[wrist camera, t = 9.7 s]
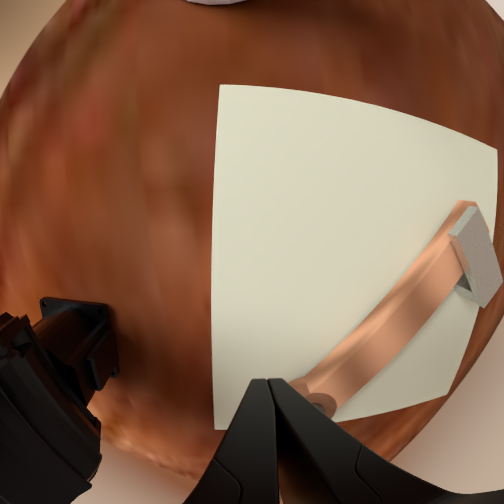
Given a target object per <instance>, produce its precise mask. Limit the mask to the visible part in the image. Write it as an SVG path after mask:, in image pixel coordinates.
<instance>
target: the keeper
mask: <svg viewBox="0 0 504 504" xmlns="http://www.w3.org/2000/svg"><path fill="white" fill-rule="evenodd" d="M447 234H448V236H449V238H450V240H451V242H452V244H453V246H454V248H455V251H456V253H457V255H458V258H459V260H460V262H461V265H462V267H463V269H464V273H463V275H462V276H461V277H460V279H459V280H458V282H457V283H456V284H455V286H454V289H455V291H456V293H457V294H459V295H461V296H463V297H464V298H466V299H468V300H470V301H472V302H474V303H475V304H477V305H479V306H481V307H483V308H485V307H486V305H487V304H488V303H489V301H490V300H491V298H492V297H493V296H494V294H495V293H496V291H497V290H498V288H499V287H500V285H501V284H502V282H503V279H502V275H501V271H500V268H499V264H498V261H497V257H496V254H495V251H494V248H493V245H492V242H491V239H490V236H489V233H488V230H487V227H486V225H485V222H484V219H483V217H482V214H481V212H480V209H479V207H475V206H468V208H467V209H466V210H465V212H464V213H463V214H462V216H461V217H460V218H459V220H458V221H457V222H456V224H455V225H454V226H453V227H452V229H451V230H450V231H449V232H448V233H447Z"/></svg>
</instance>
